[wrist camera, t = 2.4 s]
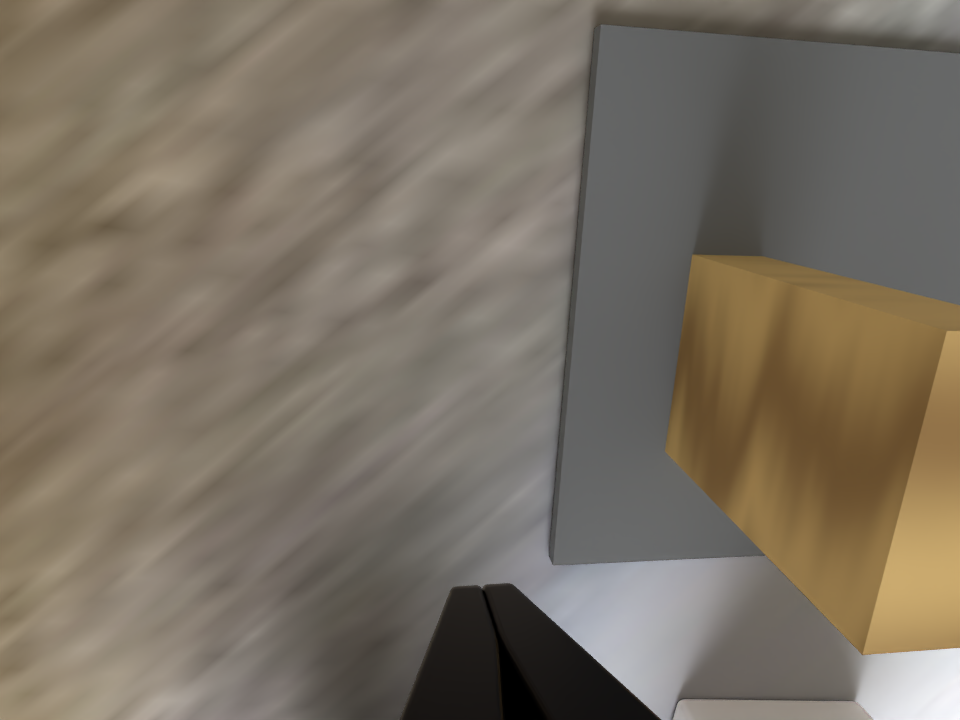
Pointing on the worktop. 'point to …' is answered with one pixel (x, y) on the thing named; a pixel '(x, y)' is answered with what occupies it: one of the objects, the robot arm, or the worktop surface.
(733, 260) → the ochre block
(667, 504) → the rubber mat
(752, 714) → the tall white carton
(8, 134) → the worktop surface
